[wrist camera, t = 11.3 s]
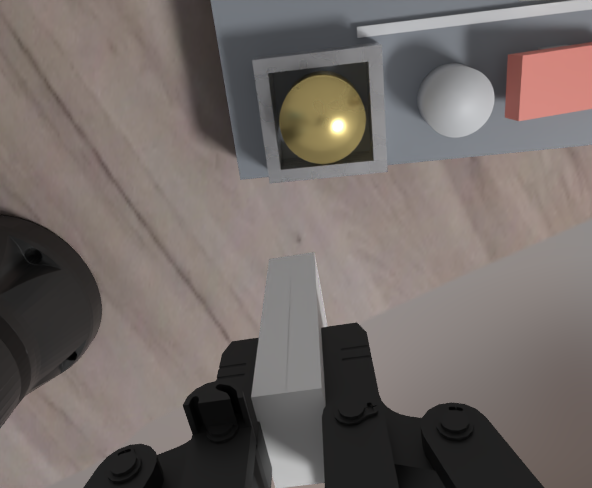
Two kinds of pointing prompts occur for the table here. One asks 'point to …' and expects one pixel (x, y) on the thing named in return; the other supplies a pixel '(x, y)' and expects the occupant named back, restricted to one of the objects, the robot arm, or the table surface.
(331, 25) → the panel
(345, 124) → the brass button
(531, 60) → the block
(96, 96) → the table surface
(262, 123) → the button housing
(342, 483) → the robot arm
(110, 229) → the table surface
